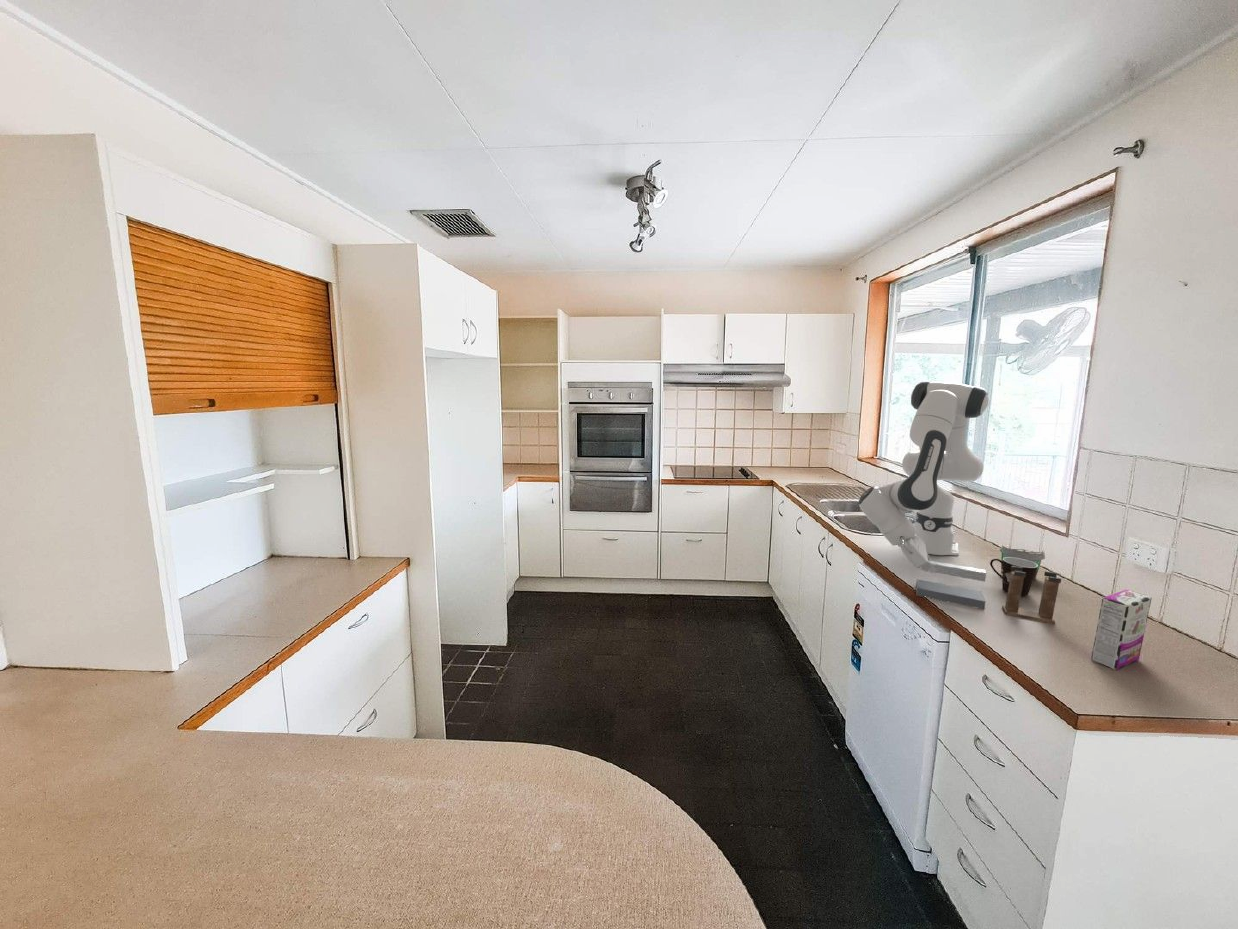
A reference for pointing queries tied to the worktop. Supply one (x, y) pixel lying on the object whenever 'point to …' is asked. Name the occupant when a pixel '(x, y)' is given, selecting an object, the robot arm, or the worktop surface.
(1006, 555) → the food container
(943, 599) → the board
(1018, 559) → the coffee mug
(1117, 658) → the candy bar box
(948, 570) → the rail
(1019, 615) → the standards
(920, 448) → the robot arm
